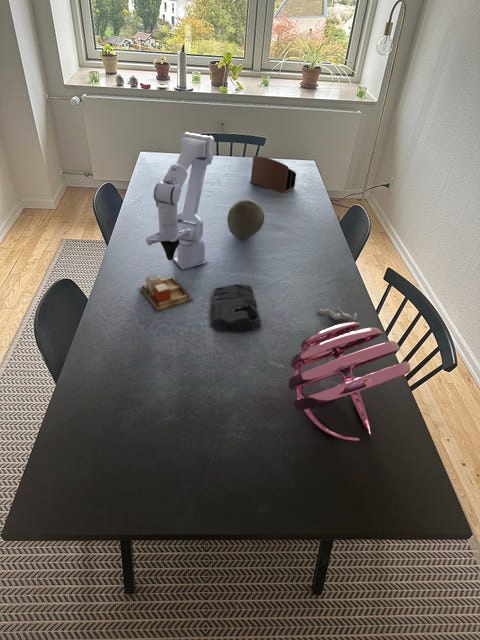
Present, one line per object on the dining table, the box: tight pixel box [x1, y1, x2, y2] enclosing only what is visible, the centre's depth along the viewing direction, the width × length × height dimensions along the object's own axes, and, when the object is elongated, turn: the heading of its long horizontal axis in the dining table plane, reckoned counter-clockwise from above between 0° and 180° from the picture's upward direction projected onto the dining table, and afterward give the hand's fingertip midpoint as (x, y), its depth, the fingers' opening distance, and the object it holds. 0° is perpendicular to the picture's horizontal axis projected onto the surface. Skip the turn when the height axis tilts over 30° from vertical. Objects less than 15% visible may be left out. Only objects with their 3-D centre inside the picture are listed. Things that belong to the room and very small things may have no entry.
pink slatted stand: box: [288, 321, 411, 442], centre depth 106 cm, size 28×28×27 cm
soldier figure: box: [317, 305, 358, 322], centre depth 144 cm, size 8×5×12 cm
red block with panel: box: [153, 283, 171, 303], centre depth 144 cm, size 4×4×5 cm
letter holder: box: [250, 155, 297, 195], centre depth 219 cm, size 10×20×14 cm, turn 55°
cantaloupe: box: [226, 198, 265, 239], centre depth 178 cm, size 14×14×15 cm
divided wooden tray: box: [140, 275, 192, 312], centre depth 148 cm, size 12×13×2 cm
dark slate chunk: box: [210, 283, 262, 332], centre depth 144 cm, size 15×22×5 cm
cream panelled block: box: [145, 273, 163, 293], centre depth 148 cm, size 4×4×5 cm
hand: (169, 258), depth 148 cm, fingers closed
